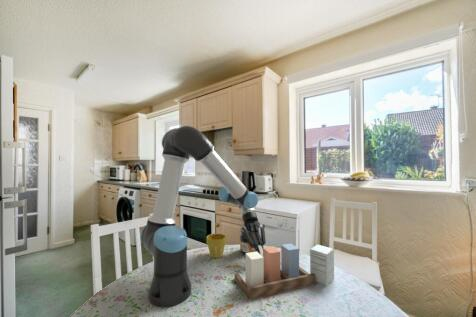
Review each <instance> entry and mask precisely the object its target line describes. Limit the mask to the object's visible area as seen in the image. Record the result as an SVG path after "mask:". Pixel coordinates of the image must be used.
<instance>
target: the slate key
mask: <svg viewBox="0 0 476 317" xmlns="http://www.w3.org/2000/svg"><path fill="white" fill-rule="evenodd" d="M280 248H281V249H280V250H281V251H280V270H281V271H282V272H283V273H285V274H286V275H287V276H288V277H289V278H293V277H298V276H300V274H299V266H300V248H299V247H297V246H296V245H294V244H293V243H286V244H281V246H280Z"/></svg>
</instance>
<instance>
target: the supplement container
mask: <svg viewBox="0 0 476 317" xmlns="http://www.w3.org/2000/svg"><path fill="white" fill-rule="evenodd" d="M246 230H247V229H246ZM247 232H248V233H249V231H248V230H247ZM249 235H250V233H249ZM250 237H251V235H250ZM255 237H256V235H255ZM251 239H252V238H251ZM256 240H257V238H256ZM257 243H258V242H257ZM239 251H240V253H241V254H242V255H244V256H246V253H250V252H256V250H255V249H254V247H250V245H249V243H248V241H247V239H246V237H245V236H244V234H243V233H242V232H241V231H240V236H239Z"/></svg>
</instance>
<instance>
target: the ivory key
mask: <svg viewBox="0 0 476 317" xmlns="http://www.w3.org/2000/svg"><path fill="white" fill-rule="evenodd" d="M245 283H246V285H247V286H248V287H251V286H256V285H260V284H264V258H263V257H262V256H261V255H260V254H259V253H258V252H250V253H246V255H245Z"/></svg>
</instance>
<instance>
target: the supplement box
mask: <svg viewBox="0 0 476 317" xmlns="http://www.w3.org/2000/svg"><path fill="white" fill-rule="evenodd" d="M309 258H310V259H309V262H310V263H309V267H310V268H309V272H310V273H309V274H312V273H314V274H315V282H318V283H319V284H323V285H325V286H328V285H330V283H332V282H333V280H335V249H334V248H332V247H329V246H328V247H327V246H324V245H321V244H316V245H315V246H312V247H311V248H310V250H309Z"/></svg>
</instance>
